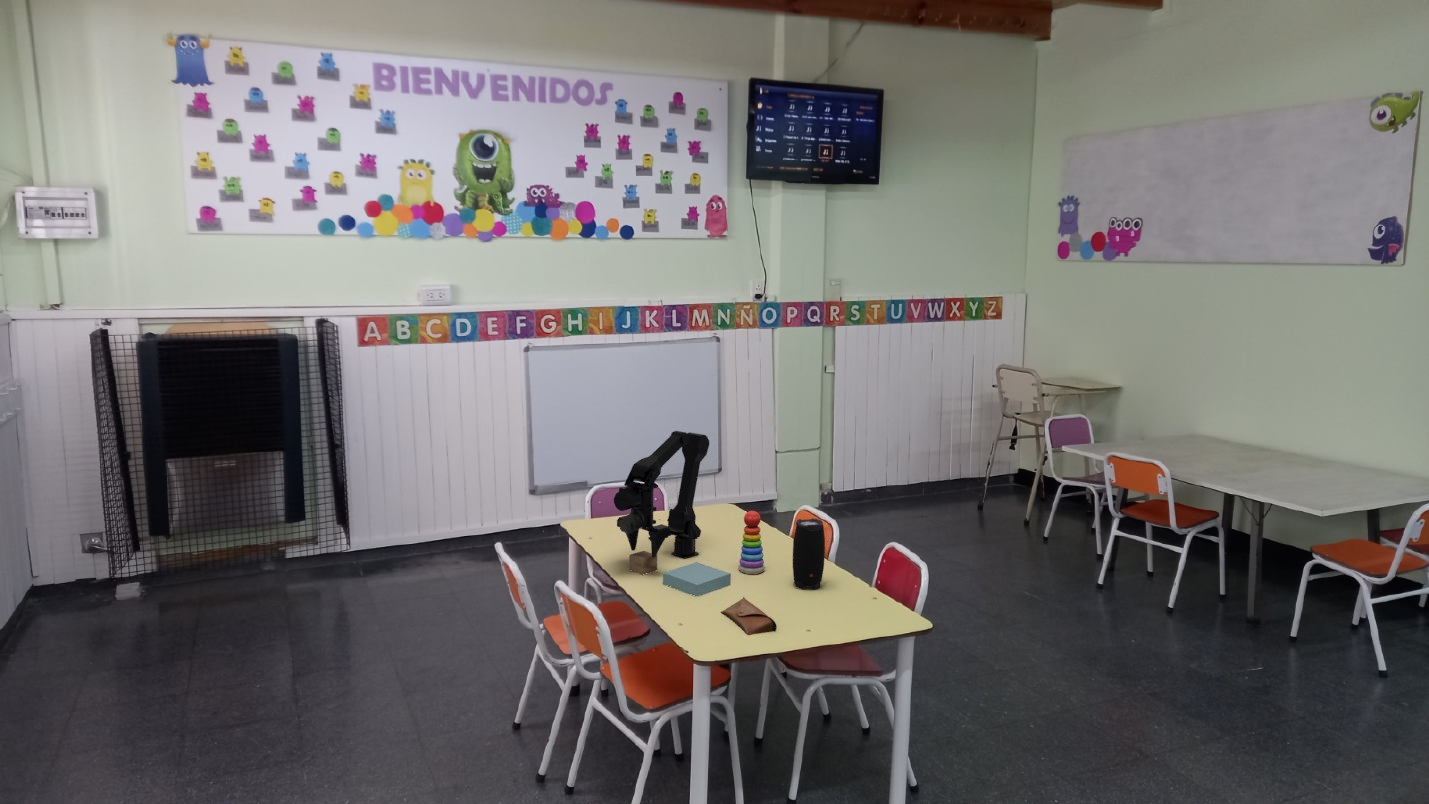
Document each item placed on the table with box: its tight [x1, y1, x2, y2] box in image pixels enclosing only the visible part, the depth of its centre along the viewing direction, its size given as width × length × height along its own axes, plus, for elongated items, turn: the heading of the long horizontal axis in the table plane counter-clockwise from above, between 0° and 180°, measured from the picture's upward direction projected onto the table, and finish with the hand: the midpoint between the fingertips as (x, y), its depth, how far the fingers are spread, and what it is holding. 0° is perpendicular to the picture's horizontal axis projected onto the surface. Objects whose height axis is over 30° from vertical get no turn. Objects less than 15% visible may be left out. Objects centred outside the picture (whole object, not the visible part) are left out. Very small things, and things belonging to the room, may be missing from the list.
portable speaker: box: [792, 518, 826, 590], centre depth 278 cm, size 9×9×20 cm
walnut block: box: [628, 550, 658, 576], centre depth 289 cm, size 6×6×5 cm
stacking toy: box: [738, 510, 766, 575], centre depth 290 cm, size 8×8×19 cm
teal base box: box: [662, 561, 732, 597], centre depth 278 cm, size 14×14×4 cm
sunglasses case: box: [720, 596, 777, 636], centre depth 252 cm, size 18×7×7 cm
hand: (643, 553), depth 289 cm, fingers open, 9 cm apart
